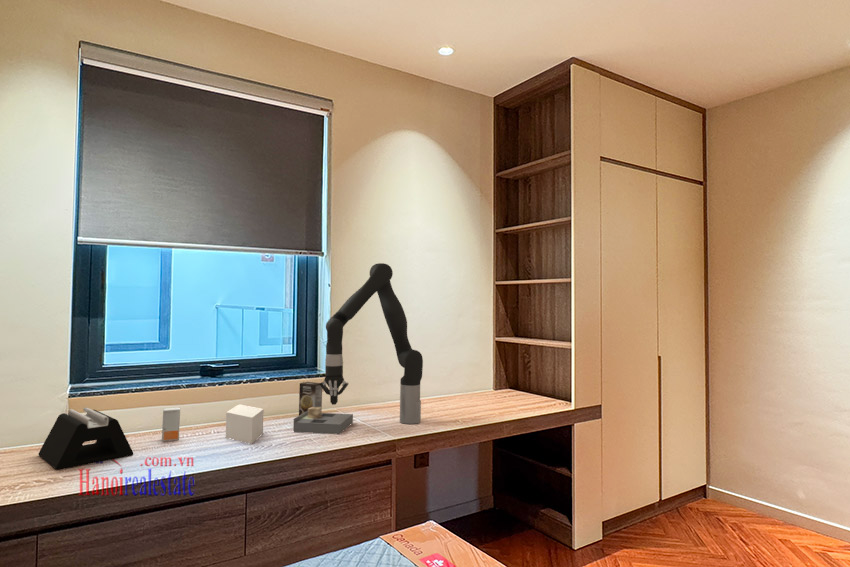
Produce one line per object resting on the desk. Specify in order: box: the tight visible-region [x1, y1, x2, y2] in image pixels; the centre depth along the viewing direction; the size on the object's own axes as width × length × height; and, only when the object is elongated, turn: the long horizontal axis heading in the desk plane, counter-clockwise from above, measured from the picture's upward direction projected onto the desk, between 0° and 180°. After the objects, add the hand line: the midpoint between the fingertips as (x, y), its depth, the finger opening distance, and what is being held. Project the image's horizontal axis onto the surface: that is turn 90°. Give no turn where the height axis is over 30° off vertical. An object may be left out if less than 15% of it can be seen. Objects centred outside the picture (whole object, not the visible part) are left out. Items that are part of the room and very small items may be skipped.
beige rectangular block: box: [225, 403, 265, 445], centre depth 206 cm, size 14×29×10 cm, turn 29°
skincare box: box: [161, 407, 181, 442], centre depth 199 cm, size 6×4×12 cm
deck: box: [292, 411, 354, 435], centre depth 222 cm, size 20×20×6 cm
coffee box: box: [298, 381, 323, 416], centre depth 241 cm, size 9×6×16 cm
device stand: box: [38, 407, 134, 471], centre depth 177 cm, size 22×22×15 cm
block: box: [308, 406, 323, 419], centre depth 223 cm, size 4×4×4 cm
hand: (334, 404), depth 222 cm, fingers closed
